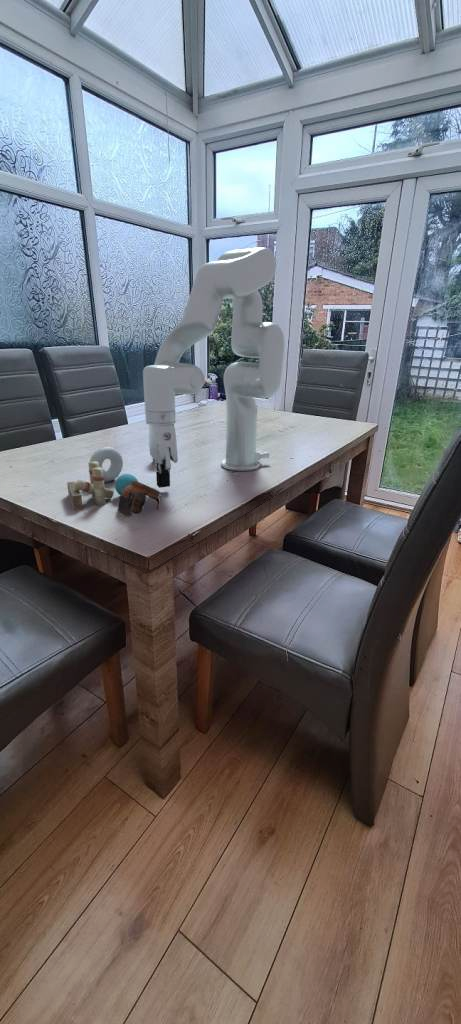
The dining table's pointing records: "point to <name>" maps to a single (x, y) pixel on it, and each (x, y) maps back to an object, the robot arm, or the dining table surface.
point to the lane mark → (148, 496)
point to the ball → (124, 482)
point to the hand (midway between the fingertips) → (163, 486)
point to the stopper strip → (74, 496)
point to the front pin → (92, 488)
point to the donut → (114, 458)
